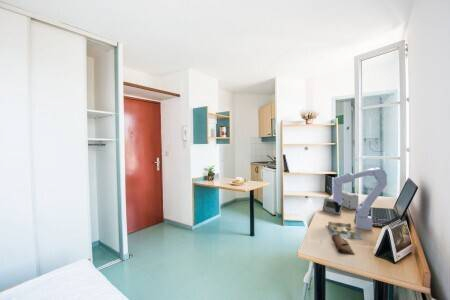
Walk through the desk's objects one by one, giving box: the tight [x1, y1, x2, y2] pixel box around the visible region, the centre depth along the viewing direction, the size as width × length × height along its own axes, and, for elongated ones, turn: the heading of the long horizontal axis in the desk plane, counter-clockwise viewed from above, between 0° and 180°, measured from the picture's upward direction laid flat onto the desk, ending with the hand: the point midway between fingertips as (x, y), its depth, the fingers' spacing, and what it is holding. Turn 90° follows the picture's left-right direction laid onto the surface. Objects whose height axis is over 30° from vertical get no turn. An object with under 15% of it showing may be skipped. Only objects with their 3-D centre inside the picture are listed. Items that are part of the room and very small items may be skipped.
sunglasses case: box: [331, 235, 355, 256], centre depth 128 cm, size 18×7×7 cm, turn 165°
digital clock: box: [322, 197, 344, 216], centre depth 187 cm, size 16×9×11 cm, turn 22°
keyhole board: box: [325, 224, 364, 241], centre depth 146 cm, size 18×19×4 cm
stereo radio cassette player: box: [342, 187, 359, 210], centre depth 203 cm, size 21×8×20 cm, turn 8°
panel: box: [327, 221, 354, 233], centre depth 149 cm, size 14×10×3 cm
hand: (337, 212), depth 159 cm, fingers closed
